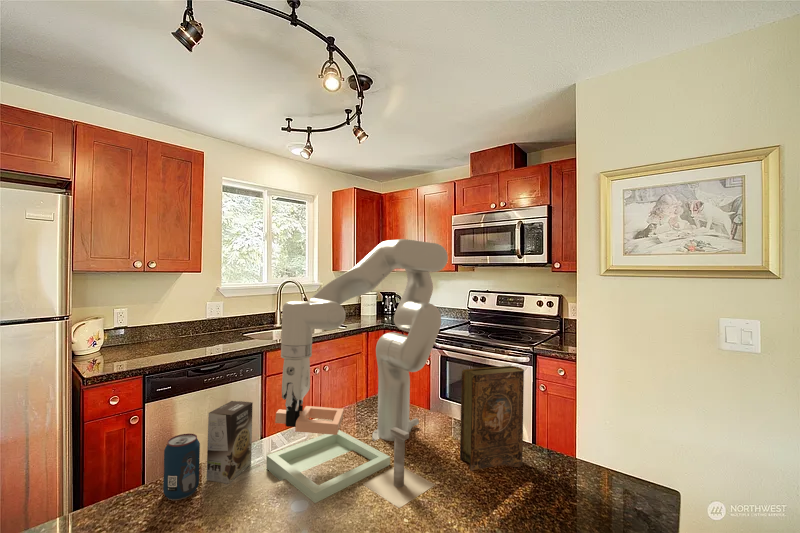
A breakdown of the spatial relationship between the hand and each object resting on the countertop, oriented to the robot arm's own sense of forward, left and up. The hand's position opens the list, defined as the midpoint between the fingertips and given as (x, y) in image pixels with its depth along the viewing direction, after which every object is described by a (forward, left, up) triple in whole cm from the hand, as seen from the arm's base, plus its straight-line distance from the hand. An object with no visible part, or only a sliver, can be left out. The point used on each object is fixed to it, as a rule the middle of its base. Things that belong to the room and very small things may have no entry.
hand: (294, 423), depth 93 cm
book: (-38, +34, -12) cm, 53 cm away
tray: (-6, +6, -12) cm, 15 cm away
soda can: (+23, -9, -12) cm, 27 cm away
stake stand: (-13, +25, -12) cm, 30 cm away
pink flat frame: (-3, +2, 0) cm, 4 cm away
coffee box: (+12, -10, -12) cm, 19 cm away
